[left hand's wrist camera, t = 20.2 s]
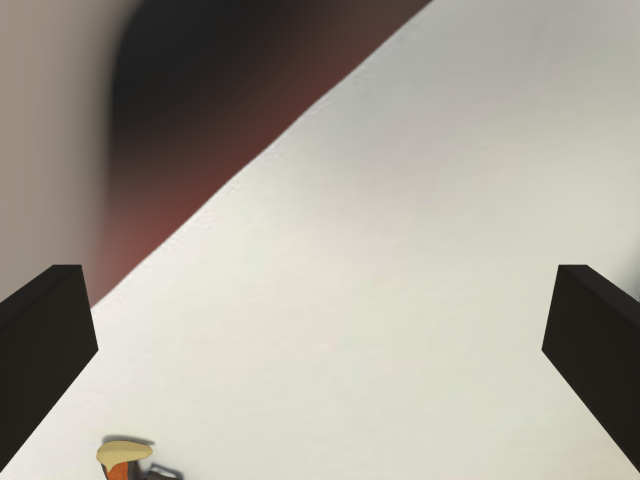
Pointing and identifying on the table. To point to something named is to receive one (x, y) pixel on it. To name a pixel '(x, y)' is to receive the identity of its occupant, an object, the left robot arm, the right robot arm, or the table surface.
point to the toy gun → (125, 460)
